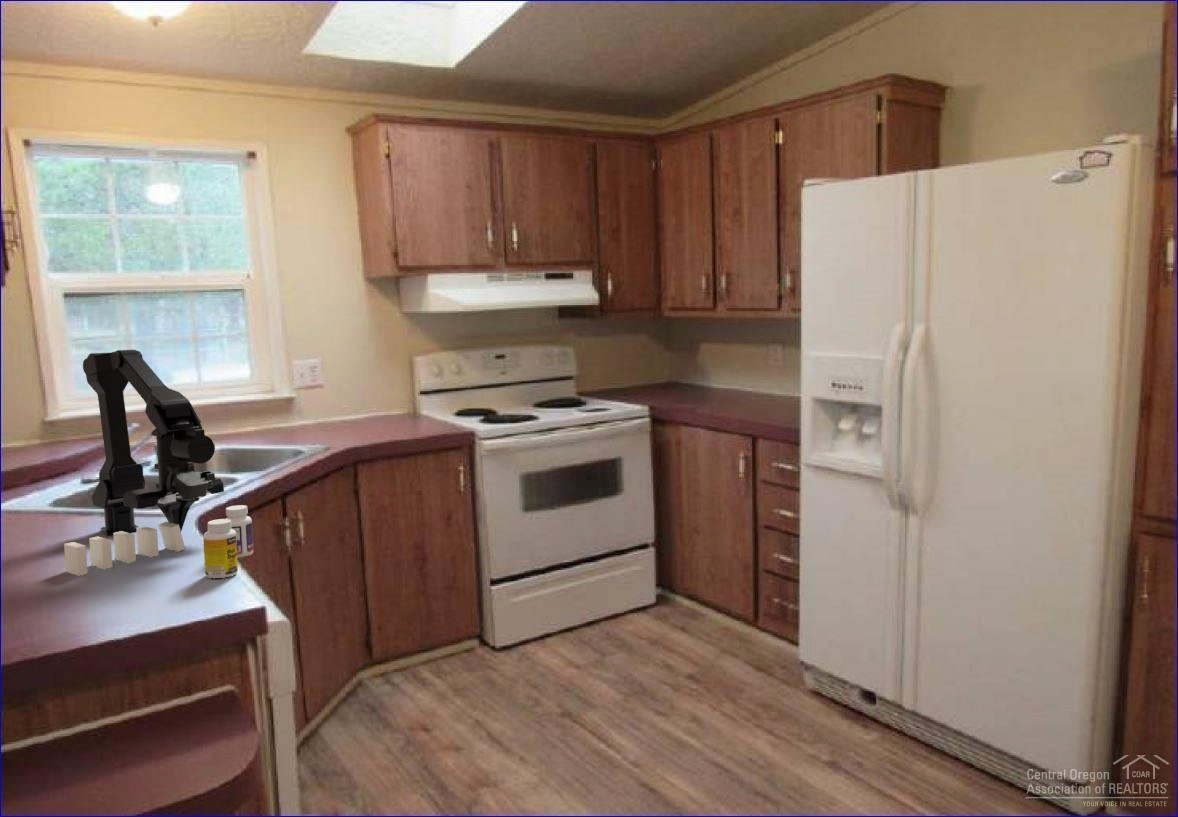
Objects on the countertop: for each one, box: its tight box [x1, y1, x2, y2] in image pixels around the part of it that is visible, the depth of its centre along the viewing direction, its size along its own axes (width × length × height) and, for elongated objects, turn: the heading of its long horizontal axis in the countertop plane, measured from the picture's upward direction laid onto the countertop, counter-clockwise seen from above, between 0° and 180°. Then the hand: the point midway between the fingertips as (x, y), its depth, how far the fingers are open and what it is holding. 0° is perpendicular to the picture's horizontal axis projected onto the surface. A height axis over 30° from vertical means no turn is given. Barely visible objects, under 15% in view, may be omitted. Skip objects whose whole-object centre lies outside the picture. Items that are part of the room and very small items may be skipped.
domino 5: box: [158, 521, 186, 552], centre depth 166 cm, size 2×5×5 cm, turn 57°
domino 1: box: [63, 541, 89, 577], centre depth 151 cm, size 2×5×5 cm, turn 58°
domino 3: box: [113, 531, 137, 564], centre depth 159 cm, size 2×5×5 cm, turn 58°
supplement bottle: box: [202, 518, 239, 580], centre depth 150 cm, size 6×6×10 cm
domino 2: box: [89, 535, 113, 570], centre depth 155 cm, size 2×5×5 cm, turn 58°
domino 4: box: [135, 525, 160, 558], centre depth 162 cm, size 2×5×5 cm, turn 58°
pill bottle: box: [225, 504, 254, 559], centre depth 162 cm, size 5×5×10 cm
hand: (177, 532), depth 168 cm, fingers closed
